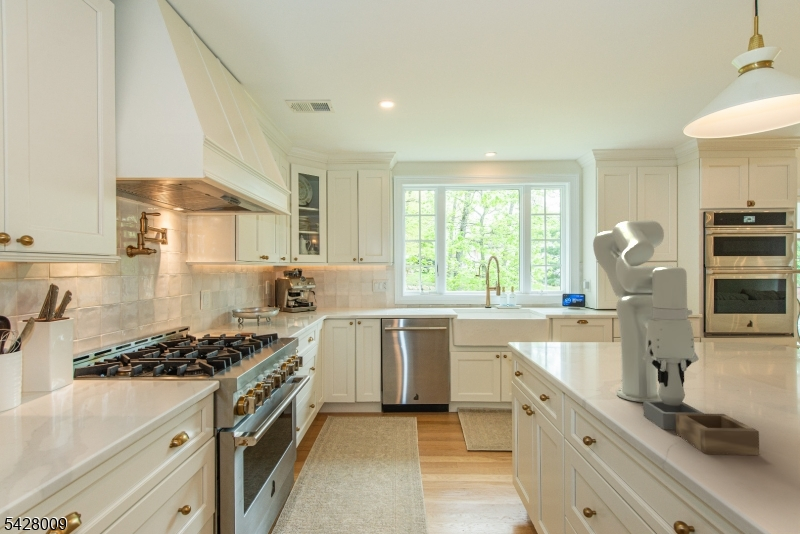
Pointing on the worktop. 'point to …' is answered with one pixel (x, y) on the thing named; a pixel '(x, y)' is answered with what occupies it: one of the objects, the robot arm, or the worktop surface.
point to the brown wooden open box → (717, 434)
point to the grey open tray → (665, 413)
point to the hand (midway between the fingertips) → (670, 384)
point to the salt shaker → (672, 384)
